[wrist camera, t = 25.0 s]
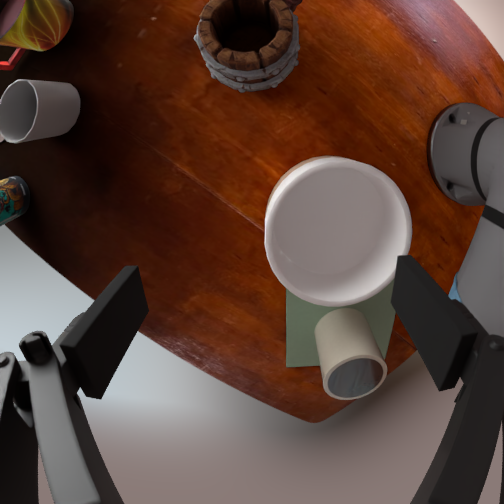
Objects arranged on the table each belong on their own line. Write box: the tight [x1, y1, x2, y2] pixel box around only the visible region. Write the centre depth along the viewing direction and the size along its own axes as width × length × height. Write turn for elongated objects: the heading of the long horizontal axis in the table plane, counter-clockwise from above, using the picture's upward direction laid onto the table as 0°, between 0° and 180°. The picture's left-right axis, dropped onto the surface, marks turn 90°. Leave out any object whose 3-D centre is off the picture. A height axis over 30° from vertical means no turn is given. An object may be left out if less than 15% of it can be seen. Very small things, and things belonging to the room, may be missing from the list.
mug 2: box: [194, 0, 302, 92], centre depth 26 cm, size 12×14×15 cm
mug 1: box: [0, 0, 74, 70], centre depth 25 cm, size 10×14×12 cm
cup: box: [0, 80, 80, 143], centre depth 31 cm, size 8×8×10 cm
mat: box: [286, 277, 396, 367], centre depth 47 cm, size 18×18×1 cm
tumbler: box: [314, 308, 387, 400], centre depth 42 cm, size 11×9×9 cm
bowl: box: [265, 156, 412, 307], centre depth 37 cm, size 17×17×8 cm
